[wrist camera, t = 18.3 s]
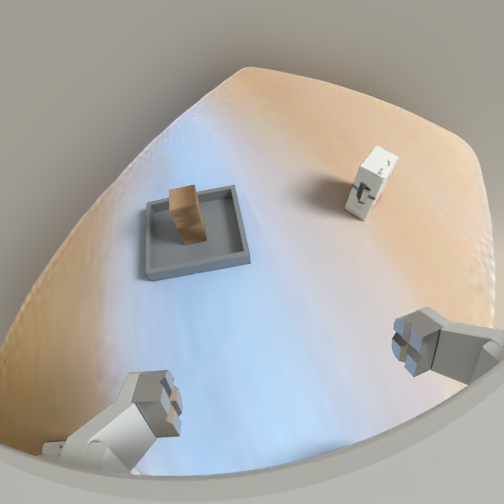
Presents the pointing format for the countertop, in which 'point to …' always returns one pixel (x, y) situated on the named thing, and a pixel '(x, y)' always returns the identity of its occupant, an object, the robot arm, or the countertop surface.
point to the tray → (198, 254)
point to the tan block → (187, 214)
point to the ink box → (370, 182)
